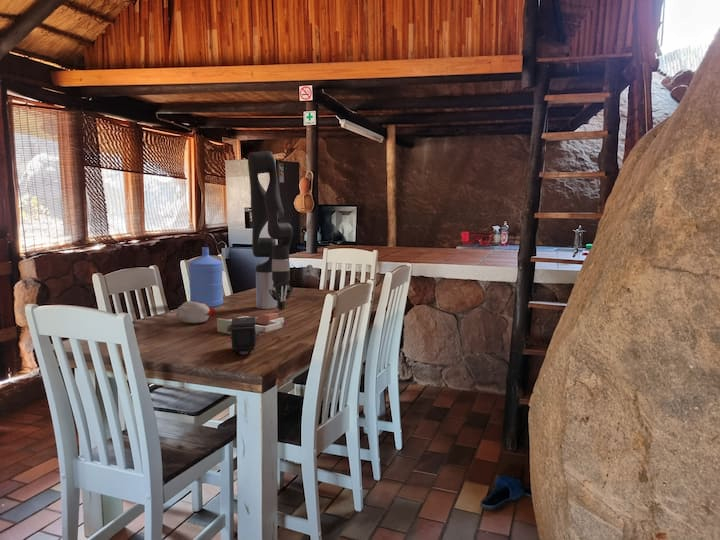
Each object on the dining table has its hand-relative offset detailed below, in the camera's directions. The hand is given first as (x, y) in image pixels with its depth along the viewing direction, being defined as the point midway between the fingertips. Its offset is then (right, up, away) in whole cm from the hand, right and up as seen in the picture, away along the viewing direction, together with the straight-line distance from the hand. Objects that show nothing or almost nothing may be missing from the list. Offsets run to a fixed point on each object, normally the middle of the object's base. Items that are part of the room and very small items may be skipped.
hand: (281, 309), depth 232 cm
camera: (-5, -11, -50) cm, 51 cm away
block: (-5, -5, -6) cm, 9 cm away
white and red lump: (-33, -5, -6) cm, 34 cm away
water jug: (-41, 0, +32) cm, 52 cm away
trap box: (-10, -6, -14) cm, 18 cm away
